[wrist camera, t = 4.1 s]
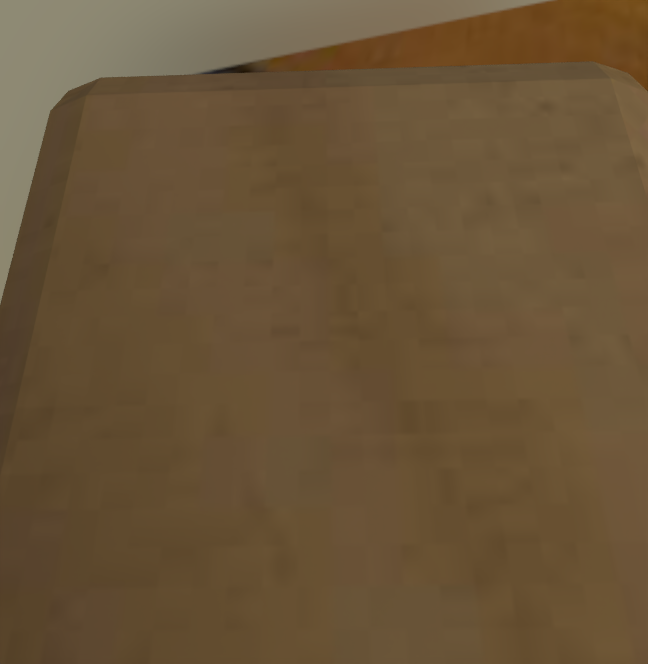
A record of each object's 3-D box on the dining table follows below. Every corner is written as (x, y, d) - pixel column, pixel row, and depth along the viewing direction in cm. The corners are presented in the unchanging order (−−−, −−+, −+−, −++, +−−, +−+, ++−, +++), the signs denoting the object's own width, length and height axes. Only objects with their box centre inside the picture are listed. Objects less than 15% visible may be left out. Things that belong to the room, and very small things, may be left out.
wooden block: (227, 645, 23) (-193, 842, 5) (240, 409, 27) (35, 51, 9) (472, 644, 23) (964, 847, 5) (448, 406, 27) (661, 30, 9)
